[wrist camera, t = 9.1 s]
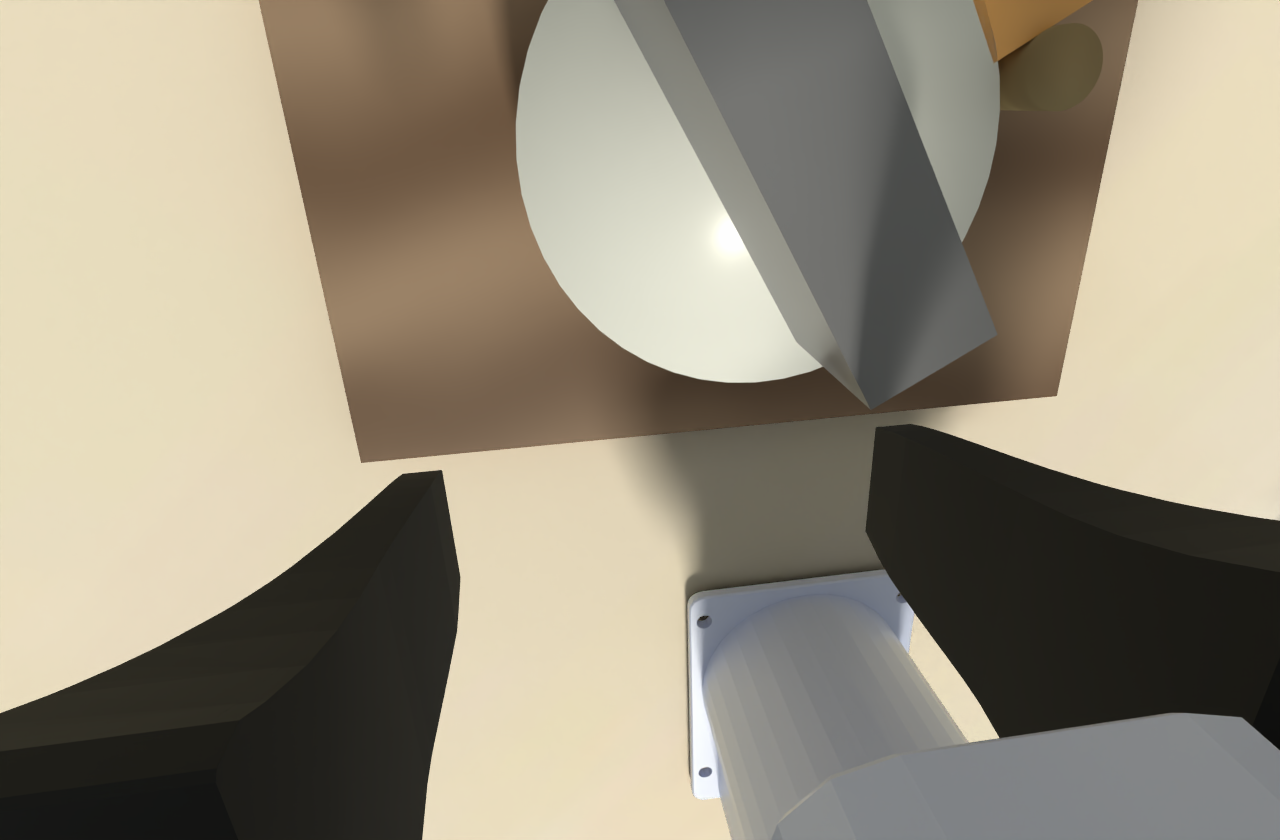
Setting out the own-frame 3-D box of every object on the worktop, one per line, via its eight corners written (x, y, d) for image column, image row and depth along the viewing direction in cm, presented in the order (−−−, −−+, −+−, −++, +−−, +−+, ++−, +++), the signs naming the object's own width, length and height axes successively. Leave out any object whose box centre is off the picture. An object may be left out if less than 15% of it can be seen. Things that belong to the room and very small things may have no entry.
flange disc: (669, 441, 18) (716, 555, 14) (413, 59, 14) (357, 40, 10) (1115, 170, 17) (1329, 195, 12) (975, -335, 13) (1217, -572, 8)
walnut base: (1025, 378, 23) (1141, 443, 19) (372, 439, 21) (330, 528, 16) (1137, -228, 17) (1349, -343, 13) (231, -231, 15) (104, -369, 10)
